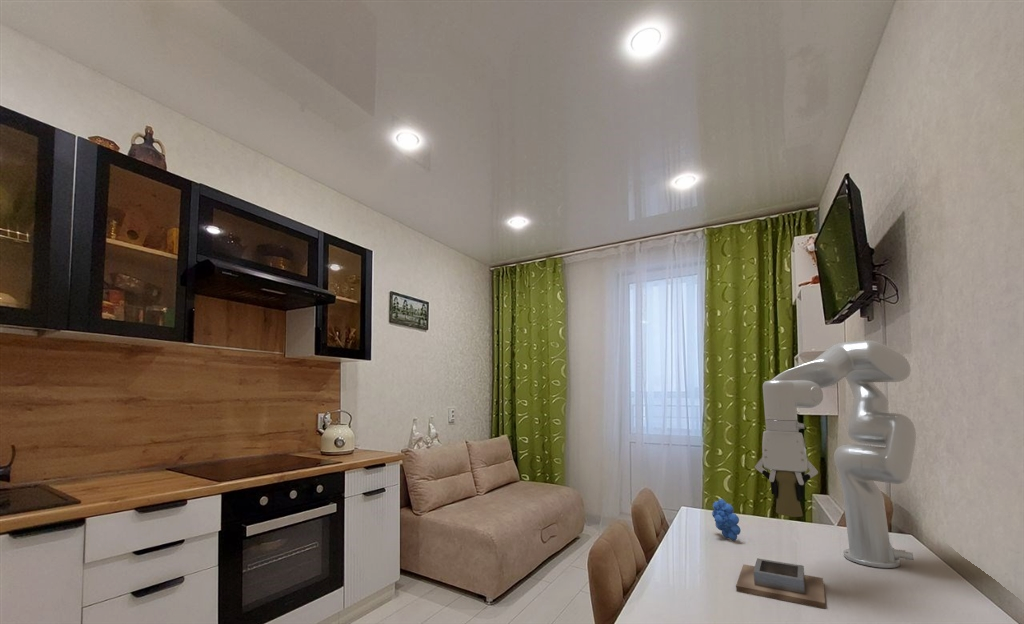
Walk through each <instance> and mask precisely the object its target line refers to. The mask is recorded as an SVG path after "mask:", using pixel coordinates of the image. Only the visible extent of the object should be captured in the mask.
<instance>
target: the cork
mask: <svg viewBox="0 0 1024 624" xmlns="http://www.w3.org/2000/svg"><path fill="white" fill-rule="evenodd" d="M775 479H776V482H777V485H778V486H777V492H778V498H776V504H775V505H776V507H775V513H776V514H778V515H780V516H785V517H790V518H791V517H792V518H799V517H803V516H804V514H803V510H802V506H801V501H799V500H798V497H797V486H796V485H797V481H798V480H797V477H796V474H795V472H788V471H776V474H775Z"/></svg>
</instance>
